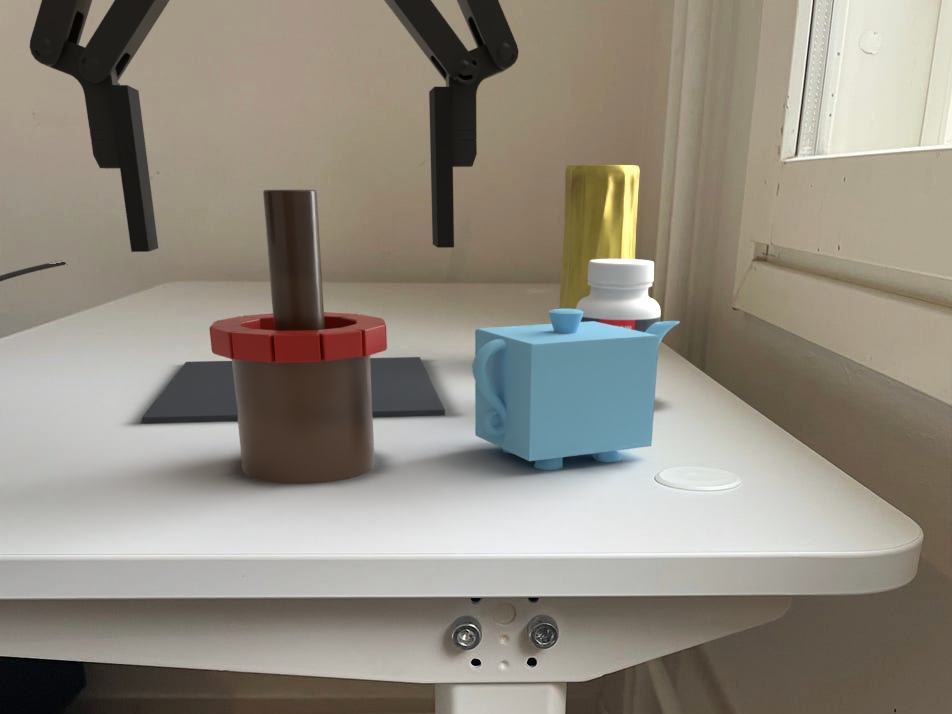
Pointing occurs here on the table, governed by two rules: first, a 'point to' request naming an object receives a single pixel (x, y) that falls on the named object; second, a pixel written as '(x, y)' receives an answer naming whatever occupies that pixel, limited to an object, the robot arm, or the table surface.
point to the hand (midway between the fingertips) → (296, 249)
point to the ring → (298, 339)
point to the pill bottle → (620, 294)
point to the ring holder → (301, 369)
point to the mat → (213, 398)
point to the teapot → (566, 388)
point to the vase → (596, 223)
